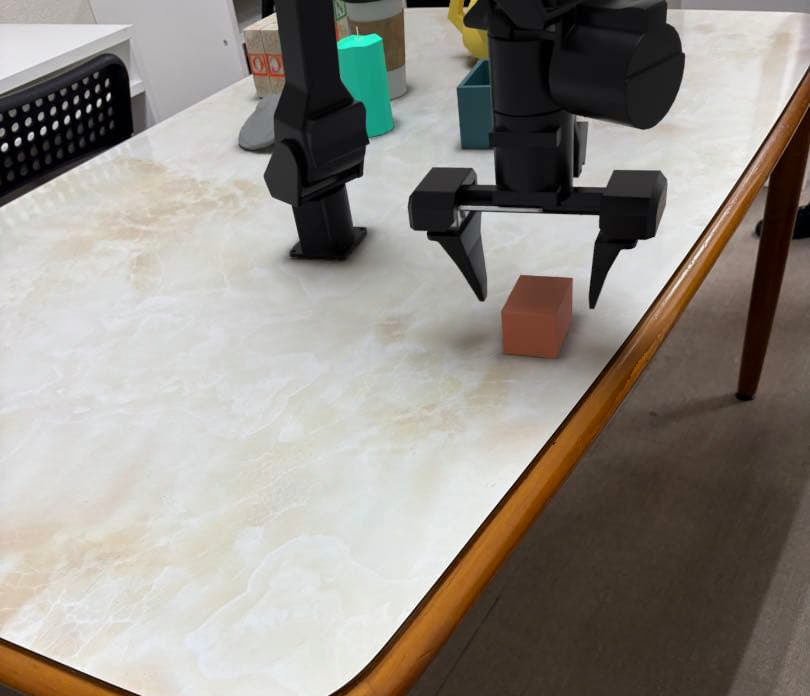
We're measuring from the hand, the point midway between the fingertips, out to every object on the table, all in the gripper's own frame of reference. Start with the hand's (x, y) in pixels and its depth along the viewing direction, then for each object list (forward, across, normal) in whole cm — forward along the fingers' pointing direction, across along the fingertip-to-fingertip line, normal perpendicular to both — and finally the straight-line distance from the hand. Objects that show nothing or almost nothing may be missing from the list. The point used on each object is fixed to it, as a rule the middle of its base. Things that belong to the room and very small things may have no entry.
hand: (537, 302), depth 71 cm
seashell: (+3, +47, -43) cm, 64 cm away
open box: (0, +14, -39) cm, 42 cm away
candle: (+3, +34, -46) cm, 57 cm away
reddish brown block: (+3, 0, 0) cm, 3 cm away
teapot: (+3, +23, -73) cm, 77 cm away
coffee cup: (+3, +37, -59) cm, 70 cm away
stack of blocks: (+3, +53, -68) cm, 86 cm away
